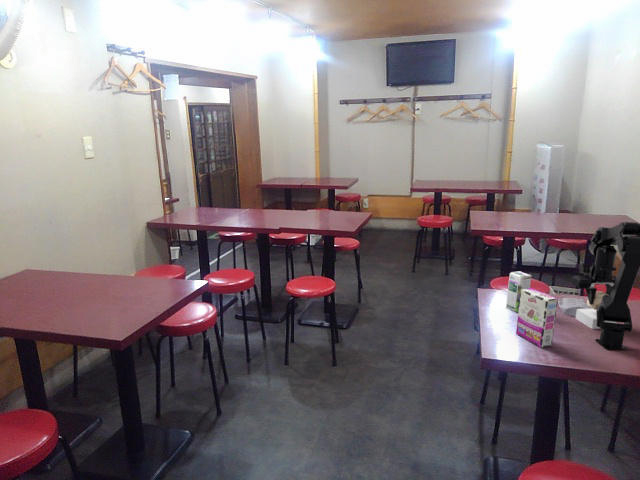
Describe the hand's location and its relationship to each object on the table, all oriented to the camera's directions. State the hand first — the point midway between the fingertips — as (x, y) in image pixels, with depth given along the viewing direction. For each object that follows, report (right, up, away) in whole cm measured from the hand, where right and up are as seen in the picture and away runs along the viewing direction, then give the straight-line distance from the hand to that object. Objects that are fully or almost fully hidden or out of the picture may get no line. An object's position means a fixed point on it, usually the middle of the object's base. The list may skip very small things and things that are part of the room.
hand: (598, 304), depth 160 cm
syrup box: (-23, -4, +15) cm, 27 cm away
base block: (0, -7, +2) cm, 8 cm away
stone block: (-2, -5, +13) cm, 14 cm away
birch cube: (0, -1, 0) cm, 1 cm away
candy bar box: (-28, -11, -10) cm, 32 cm away
